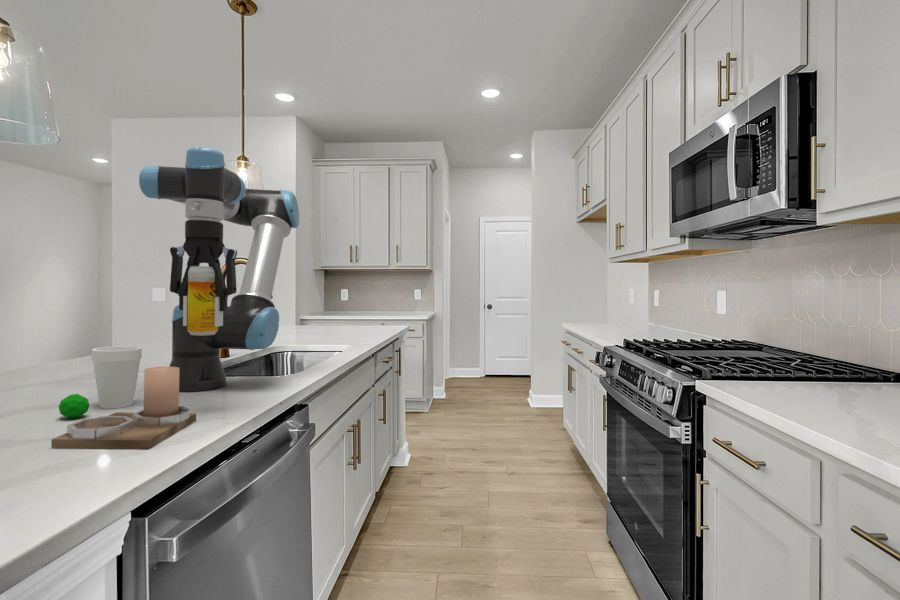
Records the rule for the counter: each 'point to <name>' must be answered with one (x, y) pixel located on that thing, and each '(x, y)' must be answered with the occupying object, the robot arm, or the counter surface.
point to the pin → (161, 391)
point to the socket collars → (121, 424)
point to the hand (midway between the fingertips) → (203, 325)
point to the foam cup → (116, 374)
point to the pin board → (125, 436)
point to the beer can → (201, 301)
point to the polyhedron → (74, 406)
